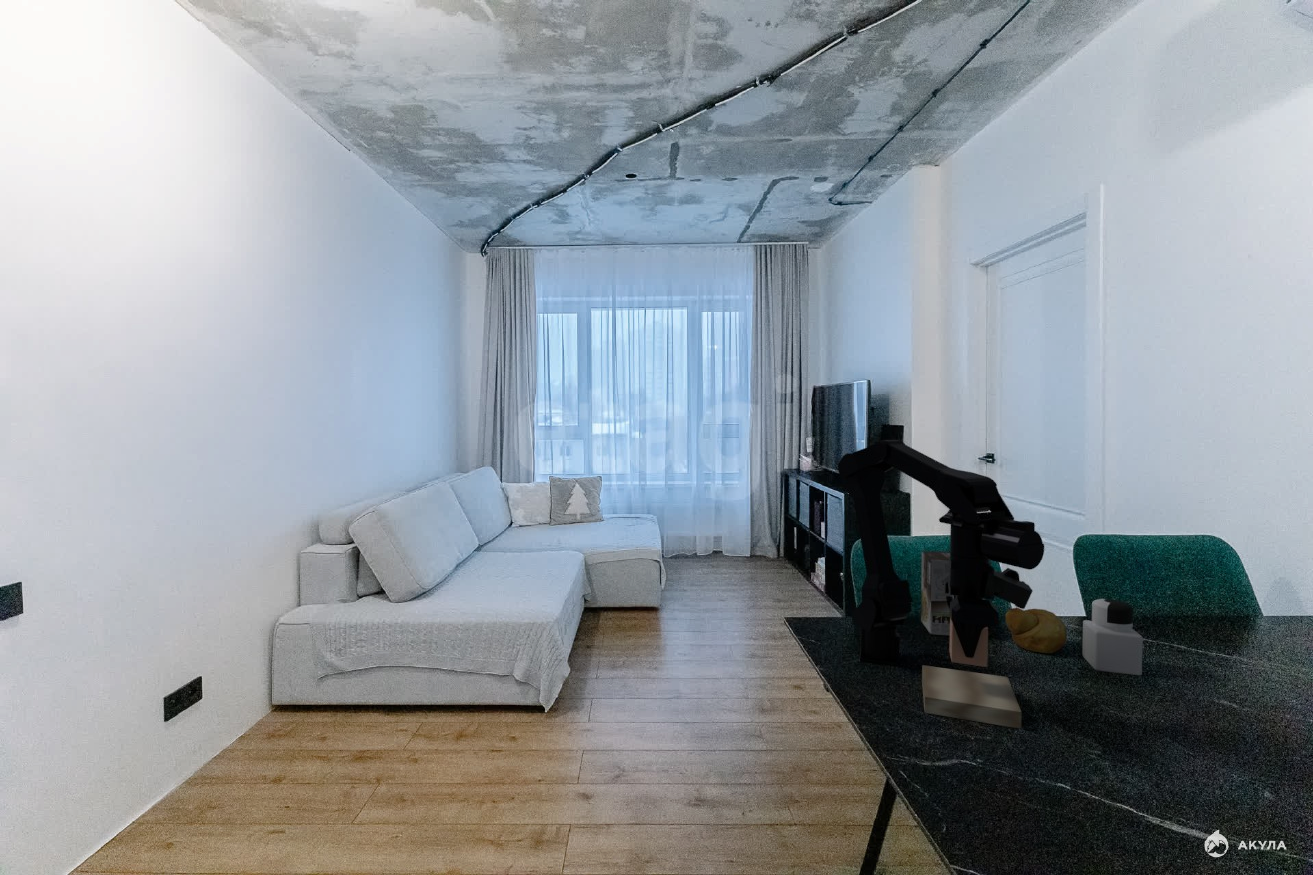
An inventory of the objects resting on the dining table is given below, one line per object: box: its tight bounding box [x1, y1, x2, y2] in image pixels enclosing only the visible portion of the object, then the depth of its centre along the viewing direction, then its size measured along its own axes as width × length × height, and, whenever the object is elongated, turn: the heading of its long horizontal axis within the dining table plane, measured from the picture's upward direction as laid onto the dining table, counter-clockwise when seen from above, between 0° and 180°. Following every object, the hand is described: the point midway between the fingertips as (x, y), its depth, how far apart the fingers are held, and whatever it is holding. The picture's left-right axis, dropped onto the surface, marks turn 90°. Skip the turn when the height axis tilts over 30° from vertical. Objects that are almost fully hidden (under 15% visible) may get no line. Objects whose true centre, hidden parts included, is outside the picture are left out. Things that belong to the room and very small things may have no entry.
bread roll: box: [1005, 606, 1068, 654], centre depth 122 cm, size 13×10×8 cm
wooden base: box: [921, 664, 1022, 730], centre depth 98 cm, size 13×13×2 cm
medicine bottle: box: [1081, 598, 1144, 676], centre depth 112 cm, size 7×7×12 cm
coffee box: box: [920, 550, 952, 637], centre depth 132 cm, size 9×6×16 cm
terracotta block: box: [948, 618, 989, 668], centre depth 98 cm, size 5×5×6 cm
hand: (967, 651), depth 98 cm, fingers closed on terracotta block, 5 cm apart
